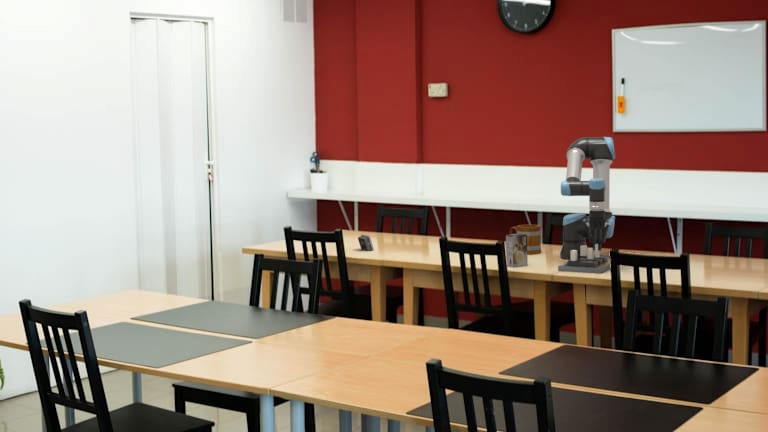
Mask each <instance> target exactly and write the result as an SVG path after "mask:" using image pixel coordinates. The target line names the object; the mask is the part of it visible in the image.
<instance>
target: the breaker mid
mask: <svg viewBox="0 0 768 432" xmlns="http://www.w3.org/2000/svg"><path fill="white" fill-rule="evenodd" d="M594 256H595V250H593V247H592V248H591V247H589V248H587V259H594Z"/></svg>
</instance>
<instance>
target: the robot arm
mask: <svg viewBox="0 0 768 432" xmlns="http://www.w3.org/2000/svg"><path fill="white" fill-rule="evenodd" d="M615 159H616V153H615V145H614V139H613V137H609V136H593V137H591V136H589V137H586V136H585V137H581V138H577V139H576V140H575V141H574V142H572V143H571V144H570V146H569V147H568V148H567V151H566V160H567V163H566V164H567V165H566V173H565V174H566V175H565V180H564V181H563V180H562V181H561V182H560V194H561V196H566V197H577V196H578V197H582V196H583V197H589V198H588V199H589V200H588V201H589V203H588V204H589V205H588V206H589V207H588V208H589V213H588V215H587V214H586V213H585V212H578V213H571V214H566V215H564V217H563V220H562V226H563V227H562V228H563V229H562V235H563V236H562V237H563V238H562V239H563V242H562V246H561V248H560V249H561V250H560V253H559V257H560V258H561V259H565V260H571V250H577V257H578V256H580V246H582V245H586V246H587V243H586V239H588V241H589V243H590V244H592V248H593V250H594V256H595V257H599V256H600V251H602V244H605V243H606V239H609V238H610V239H611V238H612V237H613V235H614V229H615V220H616V216H614V215H613V212H612V211H611V209H610V169H611V168H610V166H611V165H612V163H613V161H614V160H615ZM584 160H589V161H590V163H591V165H592V178H590V179H589V180H582V169H583V161H584Z"/></svg>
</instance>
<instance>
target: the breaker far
mask: <svg viewBox="0 0 768 432" xmlns="http://www.w3.org/2000/svg"><path fill="white" fill-rule="evenodd" d="M587 249H588V245H587V244H586V245H582V246H580V256H587Z"/></svg>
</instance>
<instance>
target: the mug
mask: <svg viewBox="0 0 768 432" xmlns="http://www.w3.org/2000/svg"><path fill="white" fill-rule="evenodd" d="M513 230H515V232H516V234H518V233H521V234H527V256H533V255H541V254H542V249H541V248H542V245H541V244H542V236H541V235H542V233H541V230H542V225H540V224H529V223H527V224H518V225H516V226H511V227H510V228H509V234H514V233H513Z"/></svg>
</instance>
